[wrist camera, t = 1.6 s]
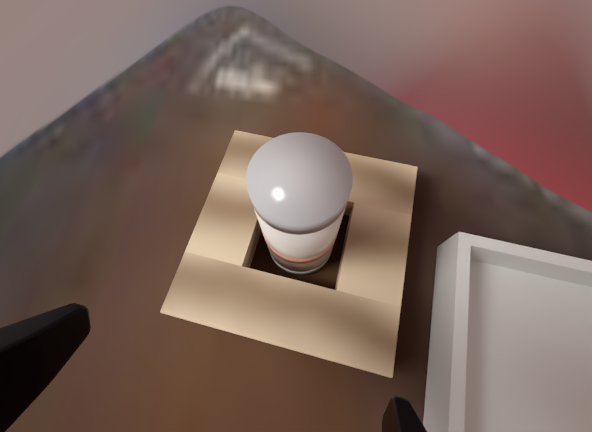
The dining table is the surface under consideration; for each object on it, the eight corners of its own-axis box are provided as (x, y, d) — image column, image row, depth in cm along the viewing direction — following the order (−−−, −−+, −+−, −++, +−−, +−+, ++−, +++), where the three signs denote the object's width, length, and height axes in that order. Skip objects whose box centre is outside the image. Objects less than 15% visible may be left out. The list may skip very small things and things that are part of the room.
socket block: (382, 374, 20) (392, 378, 18) (175, 315, 22) (160, 312, 19) (407, 182, 26) (417, 166, 23) (240, 148, 27) (235, 130, 25)
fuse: (324, 282, 23) (341, 237, 13) (260, 266, 23) (230, 211, 13) (338, 222, 24) (361, 142, 15) (278, 208, 25) (263, 123, 15)
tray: (677, 543, 17) (768, 591, 13) (419, 462, 18) (445, 488, 15) (634, 292, 22) (692, 283, 19) (437, 246, 23) (458, 231, 20)
